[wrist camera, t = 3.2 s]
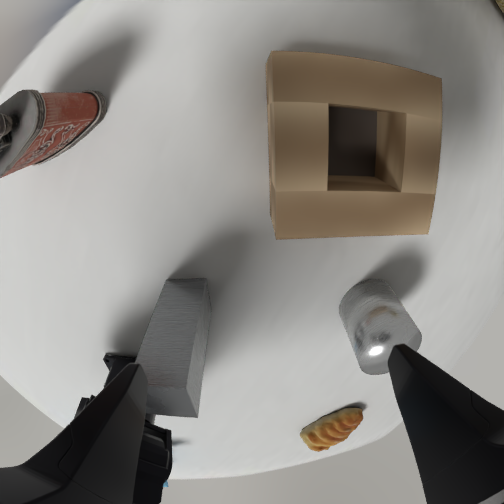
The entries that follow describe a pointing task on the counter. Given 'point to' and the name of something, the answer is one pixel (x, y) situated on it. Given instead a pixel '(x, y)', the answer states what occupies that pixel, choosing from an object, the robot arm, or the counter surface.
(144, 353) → the square bit
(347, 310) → the cylinder
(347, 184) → the socket block
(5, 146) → the lighter
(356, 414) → the pastry
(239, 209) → the counter surface
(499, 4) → the cantaloupe
